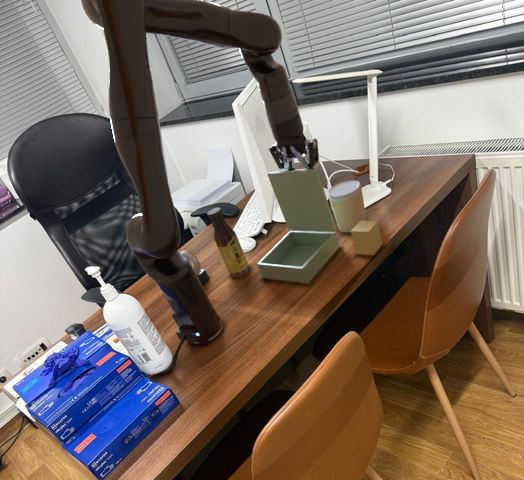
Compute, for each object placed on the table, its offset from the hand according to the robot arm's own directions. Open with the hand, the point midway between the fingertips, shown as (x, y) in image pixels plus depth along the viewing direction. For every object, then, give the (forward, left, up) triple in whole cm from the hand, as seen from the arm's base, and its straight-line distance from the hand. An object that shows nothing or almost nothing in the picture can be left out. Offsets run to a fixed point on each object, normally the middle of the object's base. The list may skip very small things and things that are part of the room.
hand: (303, 181), depth 118 cm
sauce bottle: (-14, +21, -19) cm, 31 cm away
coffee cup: (+7, -7, -19) cm, 21 cm away
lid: (-3, +1, -4) cm, 5 cm away
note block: (-6, -16, -19) cm, 25 cm away
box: (-11, +2, -19) cm, 22 cm away
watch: (-19, +34, -19) cm, 43 cm away
